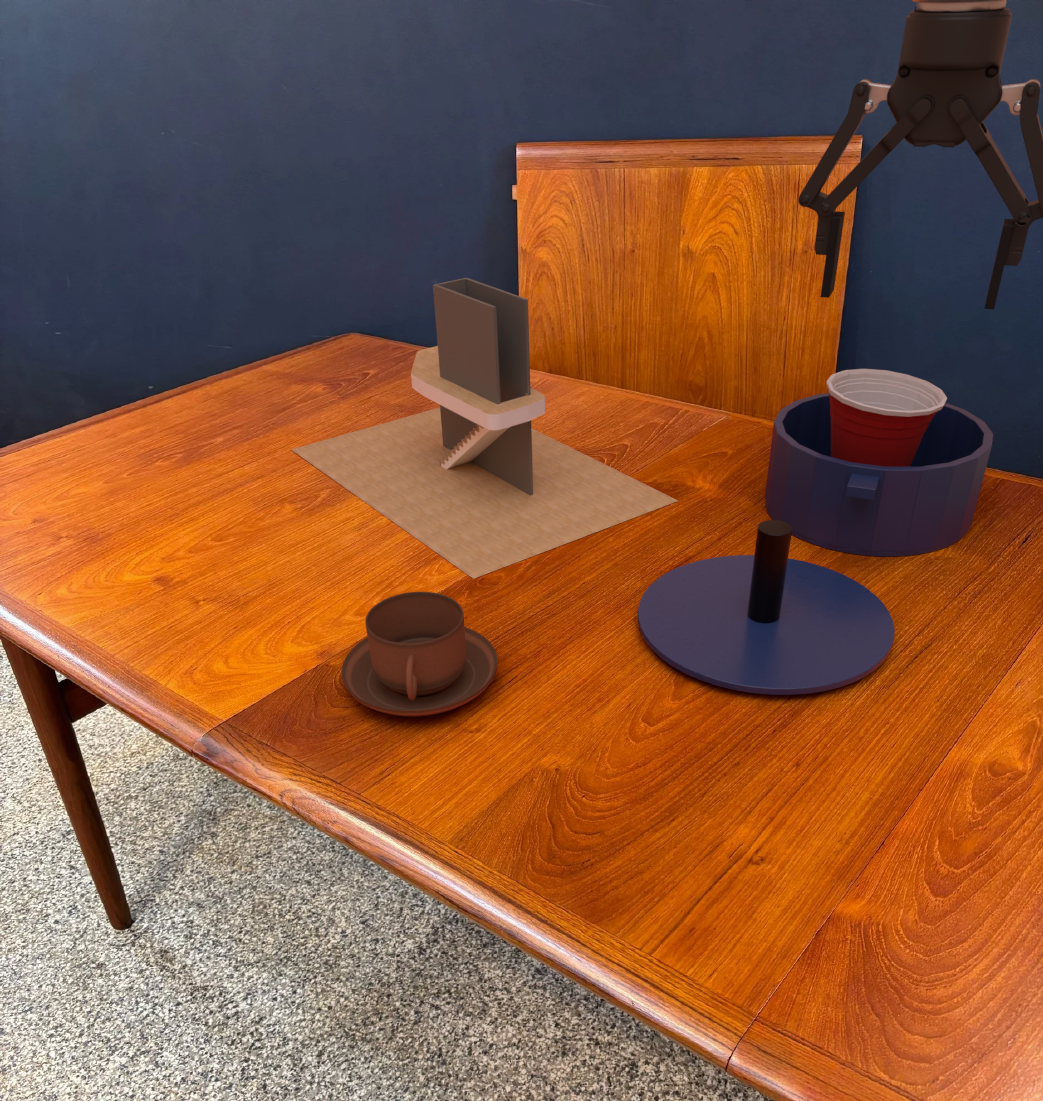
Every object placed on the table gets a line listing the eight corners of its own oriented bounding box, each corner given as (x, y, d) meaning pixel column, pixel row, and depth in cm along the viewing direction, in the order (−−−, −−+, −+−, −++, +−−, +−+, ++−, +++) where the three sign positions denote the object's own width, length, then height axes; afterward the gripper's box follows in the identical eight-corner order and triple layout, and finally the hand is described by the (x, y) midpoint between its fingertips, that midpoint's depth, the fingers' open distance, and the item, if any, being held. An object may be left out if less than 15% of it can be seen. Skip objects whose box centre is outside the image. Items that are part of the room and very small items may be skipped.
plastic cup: (924, 534, 95) (952, 410, 87) (805, 523, 97) (824, 401, 90) (920, 486, 103) (946, 369, 96) (811, 477, 106) (828, 362, 98)
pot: (978, 472, 106) (998, 393, 101) (962, 585, 88) (985, 496, 83) (790, 449, 113) (800, 373, 108) (739, 550, 94) (748, 464, 89)
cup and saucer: (519, 709, 76) (516, 641, 72) (362, 746, 73) (351, 677, 69) (472, 629, 85) (468, 564, 81) (331, 659, 82) (320, 593, 78)
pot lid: (905, 589, 88) (927, 491, 82) (874, 726, 73) (898, 618, 67) (675, 551, 95) (681, 458, 89) (603, 669, 79) (605, 567, 74)
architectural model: (290, 449, 117) (259, 270, 105) (471, 398, 129) (461, 232, 117) (473, 578, 92) (458, 362, 80) (678, 500, 103) (691, 301, 91)
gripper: (783, 12, 77) (755, 300, 90) (1151, 4, 69) (1063, 322, 81) (801, 6, 83) (772, 278, 95) (1144, -2, 74) (1062, 297, 87)
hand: (906, 299), depth 88 cm, fingers open, 13 cm apart
